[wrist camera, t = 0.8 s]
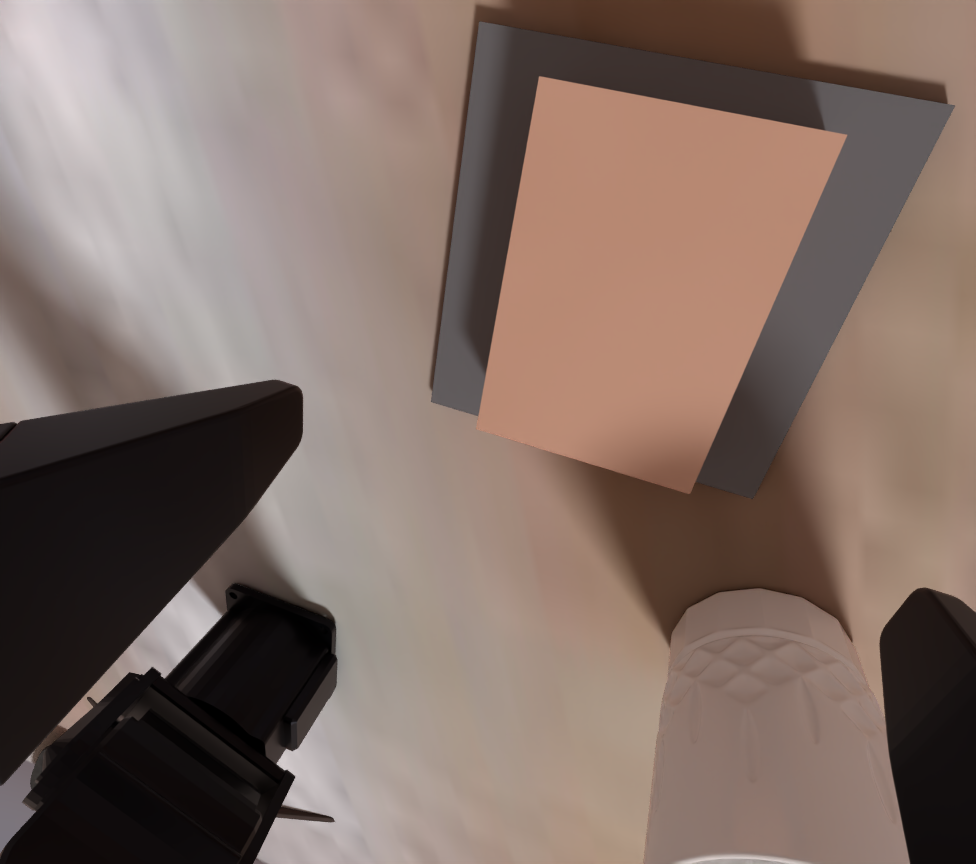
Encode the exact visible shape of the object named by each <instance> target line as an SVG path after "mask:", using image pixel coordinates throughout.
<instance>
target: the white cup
mask: <svg viewBox="0 0 976 864" xmlns="http://www.w3.org/2000/svg"><path fill="white" fill-rule="evenodd" d="M643 864H910V862H909V857H908V852H907V846H906V841H905V836H904V831H903V826H902V821H901V816H900V811H899V806H898V801H897V796H896V791H895V786H894V781H893V776H892V770H891V764H890V758H889V752H888V743H887V734H886V722H885V718H884V716H883V713H882V711H881V708H880V706H879V704H878V701H877V699H876V697H875V695H874V693H873V692H872V690H871V689H870V687H869V684H868V682H867V679H866V676H865V673H864V670H863V668H862V665H861V662H860V659H859V656H858V654H857V651H856V649H855V647H854V645H853V644H852V642H851V640H850V639H849V637H848V635H847V634H846V632H845V631H844V629H843V627H842V626H841V624H840V623H839V621H838V620H837V619H836V618H835V617H833V616H832V615H830V614H828V613H827V612H825V611H823V610H822V609H820V608H819V607H817V606H815V605H814V604H812V603H810V602H809V601H807V600H806V599H804V598H802V597H798V596H794V595H789V594H784V593H780V592H775V591H770V590H766V589H761V588H755V589H745V590H735V591H726V592H718V593H716V594H714V595H712V596H710V597H708V598H706V599H705V600H703V601H701V602H699V603H697V604H695V605H693V606H691V607H689V608H688V609H687V610H686V611H685V613H684V615H683V616H682V618H681V619H680V621H679V622H678V624H677V625H676V627H675V628H674V630H673V632H672V635H671V645H670V656H669V667H668V679H667V683H666V686H665V690H664V694H663V698H662V704H661V712H660V721H659V731H658V734H657V740H656V748H655V758H654V767H653V776H652V786H651V795H650V805H649V814H648V823H647V833H646V842H645V851H644V859H643Z"/></svg>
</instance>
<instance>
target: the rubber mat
mask: <svg viewBox="0 0 976 864" xmlns="http://www.w3.org/2000/svg"><path fill="white" fill-rule="evenodd" d="M539 76H541V77H546V78H551V79H557V80H562V81H567V82H572V83H578V84H583V85H588V86H593V87H599V88H604V89H609V90H614V91H620V92H625V93H630V94H635V95H641V96H646V97H651V98H656V99H662V100H667V101H672V102H677V103H683V104H688V105H693V106H698V107H704V108H709V109H714V110H719V111H725V112H730V113H735V114H740V115H746V116H751V117H756V118H761V119H767V120H772V121H777V122H782V123H788V124H793V125H798V126H803V127H809V128H814V129H819V130H824V131H830V132H835V133H840V134H845V135H847V137H846V139H845V142H844V144H843V146H842V149H841V151H840V153H839V155H838V158H837V160H836V162H835V165H834V167H833V169H832V171H831V174H830V176H829V178H828V180H827V183H826V185H825V187H824V190H823V192H822V194H821V196H820V199H819V201H818V203H817V206H816V208H815V210H814V212H813V215H812V217H811V219H810V222H809V224H808V226H807V228H806V231H805V233H804V235H803V238H802V240H801V242H800V244H799V247H798V249H797V251H796V253H795V256H794V258H793V260H792V263H791V265H790V267H789V269H788V272H787V274H786V276H785V279H784V281H783V283H782V285H781V288H780V290H779V292H778V295H777V297H776V299H775V301H774V304H773V306H772V308H771V311H770V313H769V315H768V317H767V320H766V322H765V324H764V326H763V329H762V331H761V333H760V336H759V338H758V340H757V342H756V345H755V347H754V349H753V352H752V354H751V356H750V358H749V361H748V363H747V365H746V368H745V370H744V372H743V374H742V377H741V379H740V381H739V383H738V386H737V388H736V390H735V393H734V395H733V397H732V399H731V402H730V404H729V406H728V409H727V411H726V413H725V415H724V418H723V420H722V422H721V425H720V427H719V429H718V431H717V434H716V436H715V438H714V441H713V443H712V445H711V447H710V450H709V452H708V454H707V456H706V459H705V461H704V463H703V466H702V468H701V470H700V472H699V475H698V477H697V479H696V482H698V483H701V484H704V485H708V486H711V487H714V488H718V489H721V490H724V491H728V492H731V493H734V494H737V495H741V496H744V497H747V498H751V499H753V498H754V496H755V494H756V492H757V490H758V488H759V486H760V484H761V482H762V480H763V479H764V477H765V475H766V473H767V471H768V469H769V467H770V465H771V463H772V461H773V459H774V457H775V455H776V453H777V451H778V449H779V447H780V445H781V444H782V442H783V440H784V438H785V436H786V434H787V432H788V430H789V428H790V426H791V424H792V422H793V420H794V418H795V416H796V414H797V412H798V410H799V408H800V407H801V405H802V403H803V401H804V399H805V397H806V395H807V393H808V391H809V389H810V387H811V385H812V383H813V381H814V379H815V377H816V375H817V373H818V372H819V370H820V368H821V366H822V364H823V362H824V360H825V358H826V356H827V354H828V352H829V350H830V348H831V346H832V344H833V342H834V340H835V338H836V336H837V335H838V333H839V331H840V329H841V327H842V325H843V323H844V321H845V319H846V317H847V315H848V313H849V311H850V309H851V307H852V305H853V303H854V301H855V300H856V298H857V296H858V294H859V292H860V290H861V288H862V286H863V284H864V282H865V280H866V278H867V276H868V274H869V272H870V270H871V268H872V266H873V264H874V263H875V261H876V259H877V257H878V255H879V253H880V251H881V249H882V247H883V245H884V243H885V241H886V239H887V237H888V235H889V233H890V231H891V229H892V228H893V226H894V224H895V222H896V220H897V218H898V216H899V214H900V212H901V210H902V208H903V206H904V204H905V202H906V200H907V198H908V196H909V194H910V192H911V191H912V189H913V187H914V185H915V183H916V181H917V179H918V177H919V175H920V173H921V171H922V169H923V167H924V165H925V163H926V161H927V159H928V157H929V156H930V154H931V152H932V150H933V148H934V146H935V144H936V142H937V140H938V138H939V136H940V134H941V132H942V130H943V128H944V126H945V124H946V122H947V121H948V119H949V117H950V115H951V113H952V111H953V109H954V107H955V105H950V104H944V103H938V102H933V101H927V100H921V99H916V98H910V97H904V96H899V95H893V94H887V93H882V92H876V91H870V90H865V89H859V88H853V87H848V86H842V85H837V84H831V83H825V82H820V81H814V80H808V79H803V78H797V77H791V76H786V75H780V74H774V73H769V72H763V71H757V70H752V69H746V68H740V67H735V66H729V65H723V64H718V63H712V62H706V61H701V60H695V59H689V58H684V57H678V56H673V55H667V54H661V53H656V52H650V51H644V50H639V49H633V48H627V47H622V46H616V45H610V44H605V43H599V42H593V41H588V40H582V39H576V38H571V37H565V36H559V35H554V34H548V33H542V32H537V31H531V30H525V29H520V28H514V27H508V26H503V25H497V24H492V23H486V22H480V21H479V28H478V35H477V43H476V51H475V59H474V67H473V75H472V83H471V91H470V99H469V107H468V114H467V122H466V130H465V138H464V146H463V154H462V162H461V170H460V178H459V186H458V194H457V201H456V209H455V217H454V225H453V233H452V241H451V249H450V257H449V265H448V273H447V280H446V288H445V296H444V304H443V312H442V320H441V328H440V336H439V344H438V352H437V360H436V367H435V375H434V383H433V391H432V399H431V402H433V403H436V404H440V405H443V406H446V407H450V408H453V409H456V410H459V411H463V412H466V413H469V414H473V415H476V416H479V410H480V405H481V399H482V394H483V388H484V382H485V377H486V371H487V366H488V360H489V354H490V349H491V343H492V338H493V332H494V326H495V321H496V315H497V310H498V304H499V298H500V293H501V287H502V281H503V276H504V270H505V265H506V259H507V253H508V248H509V242H510V237H511V231H512V225H513V220H514V214H515V209H516V203H517V197H518V192H519V186H520V181H521V175H522V169H523V164H524V158H525V153H526V147H527V141H528V136H529V130H530V125H531V119H532V113H533V108H534V102H535V97H536V91H537V85H538V80H539Z"/></svg>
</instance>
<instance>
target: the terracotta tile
mask: <svg viewBox="0 0 976 864" xmlns="http://www.w3.org/2000/svg"><path fill="white" fill-rule="evenodd" d="M846 137H847V135H845V134H840V133H835V132H830V131H824V130H819V129H814V128H809V127H803V126H798V125H793V124H788V123H782V122H777V121H772V120H767V119H761V118H756V117H751V116H746V115H740V114H735V113H730V112H725V111H719V110H714V109H709V108H704V107H698V106H693V105H688V104H683V103H677V102H672V101H667V100H662V99H656V98H651V97H646V96H641V95H635V94H630V93H625V92H620V91H614V90H609V89H604V88H599V87H593V86H588V85H583V84H578V83H572V82H567V81H562V80H557V79H551V78H546V77H541V76H539V80H538V85H537V91H536V97H535V102H534V108H533V113H532V119H531V125H530V130H529V136H528V141H527V147H526V153H525V158H524V164H523V169H522V175H521V181H520V186H519V192H518V197H517V203H516V209H515V214H514V220H513V225H512V231H511V237H510V242H509V248H508V253H507V259H506V265H505V270H504V276H503V281H502V287H501V293H500V298H499V304H498V310H497V315H496V321H495V326H494V332H493V338H492V343H491V349H490V354H489V360H488V366H487V371H486V377H485V382H484V388H483V394H482V399H481V405H480V410H479V416H478V422H477V427H476V429H478V430H481V431H484V432H488V433H491V434H494V435H498V436H501V437H504V438H507V439H511V440H514V441H517V442H520V443H524V444H527V445H530V446H533V447H537V448H540V449H543V450H546V451H550V452H553V453H556V454H560V455H563V456H566V457H569V458H573V459H576V460H579V461H582V462H586V463H589V464H592V465H595V466H599V467H602V468H605V469H608V470H612V471H615V472H618V473H622V474H625V475H628V476H631V477H635V478H638V479H641V480H644V481H648V482H651V483H654V484H657V485H661V486H664V487H667V488H670V489H674V490H677V491H680V492H684V493H687V494H690V493H691V491H692V488H693V486H694V484H695V482H696V479H697V477H698V475H699V472H700V470H701V468H702V466H703V463H704V461H705V459H706V456H707V454H708V452H709V450H710V447H711V445H712V443H713V441H714V438H715V436H716V434H717V431H718V429H719V427H720V425H721V422H722V420H723V418H724V415H725V413H726V411H727V409H728V406H729V404H730V402H731V399H732V397H733V395H734V393H735V390H736V388H737V386H738V383H739V381H740V379H741V377H742V374H743V372H744V370H745V368H746V365H747V363H748V361H749V358H750V356H751V354H752V352H753V349H754V347H755V345H756V342H757V340H758V338H759V336H760V333H761V331H762V329H763V326H764V324H765V322H766V320H767V317H768V315H769V313H770V311H771V308H772V306H773V304H774V301H775V299H776V297H777V295H778V292H779V290H780V288H781V285H782V283H783V281H784V279H785V276H786V274H787V272H788V269H789V267H790V265H791V263H792V260H793V258H794V256H795V253H796V251H797V249H798V247H799V244H800V242H801V240H802V238H803V235H804V233H805V231H806V228H807V226H808V224H809V222H810V219H811V217H812V215H813V212H814V210H815V208H816V206H817V203H818V201H819V199H820V196H821V194H822V192H823V190H824V187H825V185H826V183H827V180H828V178H829V176H830V174H831V171H832V169H833V167H834V165H835V162H836V160H837V158H838V155H839V153H840V151H841V149H842V146H843V144H844V142H845V139H846Z"/></svg>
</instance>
